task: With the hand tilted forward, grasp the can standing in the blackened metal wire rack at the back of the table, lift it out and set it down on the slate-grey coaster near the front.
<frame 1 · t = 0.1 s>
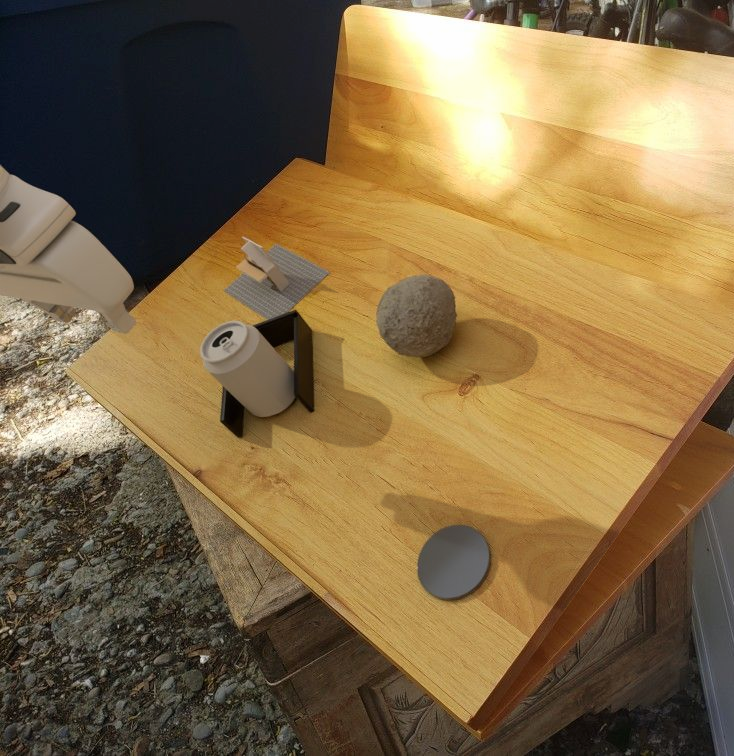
hand: (97, 322, 69), 23 cm above the table, tool pointing down, fingers open, 8 cm apart
decorative stone: (434, 343, 87), on the table
can: (277, 397, 89), on the table
coaster: (454, 562, 68), on the table
architectural model: (276, 282, 104), on the table
rack: (277, 383, 90), on the table
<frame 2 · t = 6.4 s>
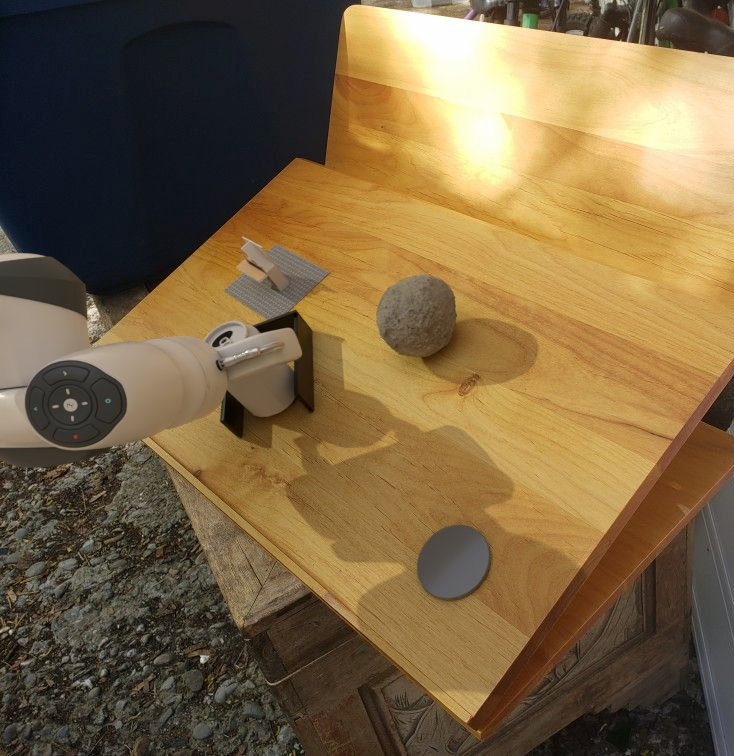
hand: (238, 366, 82), 8 cm above the table, tool tilted 45°, fingers open, 8 cm apart
can: (277, 397, 89), on the table, touching gripper
everything else where it was.
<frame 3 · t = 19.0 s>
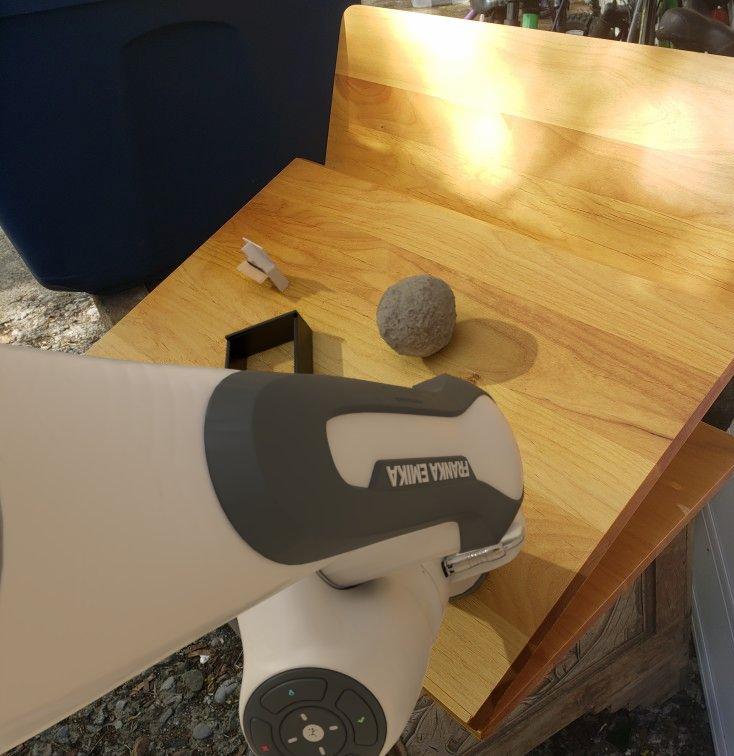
hand: (419, 526, 62), 8 cm above the table, tool tilted 45°, fingers open, 8 cm apart
can: (454, 562, 67), point 1 cm above the table, touching coaster
everything else where it was.
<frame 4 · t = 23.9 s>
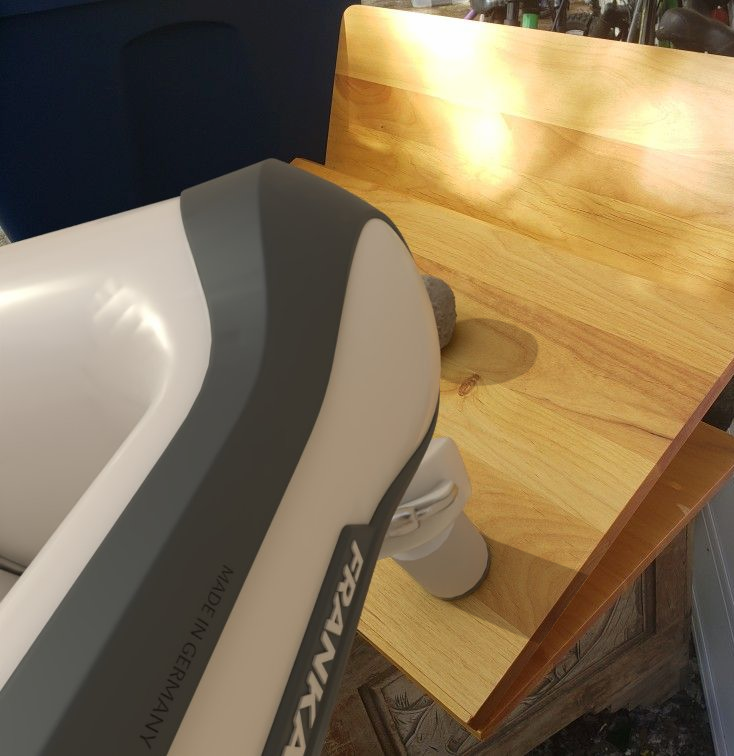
hand: (325, 493, 43), 27 cm above the table, tool tilted 45°, fingers open, 8 cm apart
nothing on the table moved.
at the end: can 0.4 cm off-centre on the coaster, point 0.4 cm above the coaster's base; can tilted 0°; can touching coaster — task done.
